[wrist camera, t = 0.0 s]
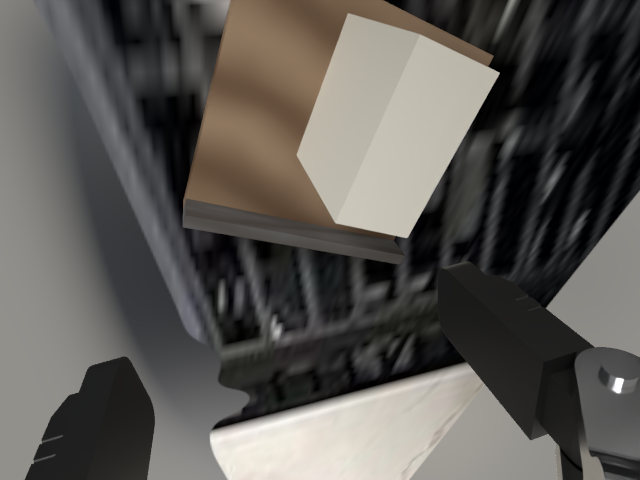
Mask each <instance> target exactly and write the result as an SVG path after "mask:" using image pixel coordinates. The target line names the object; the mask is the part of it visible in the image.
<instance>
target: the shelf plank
mask: <svg viewBox="0 0 640 480" xmlns="http://www.w3.org/2000/svg"><path fill="white" fill-rule="evenodd" d="M348 13H349V14H353V15H356V16H360V17H363V18H366V19H370V20H373V21H377V22H380V23H383V24H387V25H390V26H394V27H397V28H400V29H404V30H407V31H411V32H414V33H417V34H421V35H423V36H425V37H427V38H429V39H431V40H433V41H435V42H437V43H439V44H441V45H443V46H445V47H447V48H450V49H452V50H454V51H456V52H458V53H460V54H462V55H464V56H466V57H468V58H470V59H472V60H474V61H476V62H478V63H481V64H483V65H485V66H487V67H488V65H489V64H490V62H491V60H492V58H493V55H491V54H489V53H487V52H485V51H483V50H481V49H479V48H477V47H475V46H473V45H471V44H469V43H467V42H465V41H463V40H461V39H459V38H457V37H455V36H453V35H451V34H449V33H447V32H445V31H443V30H441V29H439V28H437V27H435V26H433V25H431V24H429V23H427V22H425V21H423V20H421V19H419V18H417V17H415V16H413V15H411V14H409V13H407V12H405V11H403V10H401V9H399V8H397V7H395V6H393V5H391V4H389V3H387V2H386V1H384V0H230V5H229V9H228V13H227V17H226V22H225V26H224V30H223V34H222V39H221V43H220V47H219V51H218V56H217V60H216V64H215V69H214V73H213V77H212V81H211V86H210V90H209V94H208V98H207V103H206V107H205V111H204V115H203V120H202V124H201V128H200V132H199V137H198V141H197V145H196V149H195V154H194V158H193V162H192V166H191V171H190V175H189V179H188V183H187V188H186V192H185V196H184V200H183V227H185V228H191V229H197V230H203V231H208V232H214V233H220V234H226V235H232V236H237V237H243V238H249V239H255V240H261V241H266V242H272V243H278V244H284V245H290V246H295V247H301V248H307V249H313V250H319V251H324V252H330V253H336V254H342V255H348V256H353V257H359V258H365V259H371V260H377V261H382V262H388V263H394V264H401V262H402V260H403V258H404V257H405V255H404V254H403V252H402V251H401V250H400V248H399V247H398V246H397V244H396V243H395V242H394V239H395V237H396V236H394V235H389V234H385V233H380V232H375V231H370V230H365V229H361V228H356V227H351V226H346V225H341V224H337V223H335V222H334V220H333V218H332V217H331V215H330V213H329V211H328V210H327V208H326V206H325V204H324V203H323V201H322V199H321V197H320V196H319V194H318V192H317V190H316V188H315V187H314V185H313V183H312V181H311V180H310V178H309V176H308V174H307V173H306V171H305V169H304V167H303V166H302V164H301V162H300V160H299V159H298V157H297V152H298V149H299V147H300V144H301V141H302V138H303V136H304V133H305V130H306V127H307V125H308V122H309V119H310V116H311V114H312V111H313V108H314V105H315V103H316V100H317V97H318V94H319V92H320V89H321V86H322V83H323V81H324V78H325V75H326V72H327V70H328V67H329V64H330V61H331V59H332V56H333V53H334V50H335V47H336V45H337V42H338V39H339V36H340V34H341V31H342V28H343V25H344V23H345V20H346V17H347V14H348Z"/></svg>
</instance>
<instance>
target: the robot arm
mask: <svg viewBox="0 0 640 480" xmlns="http://www.w3.org/2000/svg"><path fill="white" fill-rule="evenodd" d="M438 317H439V322H440V325H441V328H442V330H443V332H444V334H445V335H446V337H447V338H448V339H449V340H450V342H451V343H452V344H453V345H454V347H455V348H456V349H457V350H458V351H459V353H460V354H461V355H462V356H463V358H464V359H465V360H466V361H467V363H468V364H469V365H470V366H471V368H472V369H473V370H474V371H475V372H476V374H477V375H478V376H479V377H480V379H481V380H482V381H483V382H484V384H485V385H486V386H487V387H488V388H489V390H490V391H491V392H492V393H493V394H494V396H495V397H496V398H497V400H498V401H499V402H500V403H501V404H502V406H503V407H504V408H505V409H506V411H507V412H508V413H509V414H510V416H511V417H512V418H513V419H514V421H515V422H516V423H517V424H518V425H519V427H520V428H521V429H522V430H523V432H524V433H525V434H526V435H527V437H528V438H529V439H530V440H533V439H535V438H538V437H541V436H543V435H546V434H549V435H550V436H551V437H552V438H553V440H554V441H555V442H556V443H557V445H556V452H555V454H556V464H557V476H558V480H640V357H638V356H636V355H633V354H631V353H629V352H626V351H622V350H619V349H614V348H606V347H596V348H595V347H594V346H593V345H591V344H590V343H589V342H587V341H586V340H585V339H583V338H582V337H581V336H580V335H578V334H577V333H576V332H575V331H573V330H572V329H571V328H570V327H568V326H567V325H566V324H564V323H563V322H562V321H561V320H559V319H558V318H557V317H556V316H554V315H553V314H552V313H551V312H549V311H548V310H547V309H546V308H544V307H543V308H542V307H541V305H540V304H539V303H538V302H537V301H535V300H534V299H533V298H532V297H528V294H526V293H525V292H524V291H523V290H521V289H520V288H519V287H518V286H516V285H515V284H514V283H513V282H510V281H508V280H505V279H503V278H501V277H498V276H496V275H493V274H491V275H485V274H484V273H483V272H482V271H481V270H479V269H478V268H477V267H476V266H475V265H473V264H472V263H471V262H468V261H466V262H462V263H459V264H455V265H452V266H448V267H444V268H441V269H440V270H439V272H438ZM154 425H155V416H154V409H153V405H152V402H151V399H150V397H149V395H148V393H147V392H146V389H145V388H144V386H143V384H142V382H141V380H140V378H139V376H138V374H137V372H136V370H135V368H134V367H133V365H132V363H131V362H130V360H129V359H128V358H127V357H121V358H117V359H113V360H110V361H106V362H103V363H99V364H95V365H92V366H90V367H89V368H88V370H87V372H86V375H85V378H84V380H83V383H82V386H81V388H80V391H79V393H75V394H72V395H69V396H68V397H67V398H66V400H65V401H64V402H63V403H62V404H61V406H60V407H59V408H58V410H57V411H56V412H55V413H54V414H53V416H52V417H51V419H50V421H49V423H48V426H47V428H46V431H45V433H44V435H43V438H42V444H40V445H39V447H38V450H37V452H36V455H35V457H34V459H33V460H34V464H31V467H30V468H29V471H28V473H27V476H26V478H25V480H147V475H148V468H149V461H150V455H151V448H152V440H153V434H154Z"/></svg>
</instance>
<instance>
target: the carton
mask: <svg viewBox="0 0 640 480" xmlns="http://www.w3.org/2000/svg"><path fill="white" fill-rule="evenodd" d="M499 74H500V73H499V72H497V71H495V70H493V69H491V68H489V67H487V66H485V65H483V64H481V63H478V62H476V61H474V60H472V59H470V58H468V57H466V56H464V55H462V54H460V53H458V52H456V51H454V50H452V49H450V48H447V47H445V46H443V45H441V44H439V43H437V42H435V41H433V40H431V39H429V38H427V37H425V36H423V35H421V34H417V33H414V32H411V31H407V30H404V29H400V28H397V27H394V26H390V25H387V24H383V23H380V22H377V21H373V20H370V19H366V18H363V17H360V16H356V15H353V14H349V13H348V14H347V17H346V20H345V23H344V25H343V28H342V31H341V34H340V36H339V39H338V42H337V45H336V47H335V50H334V53H333V56H332V59H331V61H330V64H329V67H328V70H327V72H326V75H325V78H324V81H323V83H322V86H321V89H320V92H319V94H318V97H317V100H316V103H315V105H314V108H313V111H312V114H311V116H310V119H309V122H308V125H307V127H306V130H305V133H304V136H303V138H302V141H301V144H300V147H299V149H298V152H297V157H298V159H299V160H300V162H301V164H302V166H303V167H304V169H305V171H306V173H307V174H308V176H309V178H310V180H311V181H312V183H313V185H314V187H315V188H316V190H317V192H318V194H319V196H320V197H321V199H322V201H323V203H324V204H325V206H326V208H327V210H328V211H329V213H330V215H331V217H332V218H333V220H334V222H335V223H337V224H341V225H346V226H351V227H356V228H361V229H365V230H370V231H375V232H380V233H385V234H389V235H394V236H399V237H404V238H408V236H409V234H410V233H411V231H412V229H413V227H414V225H415V224H416V222H417V220H418V218H419V216H420V215H421V213H422V211H423V209H424V208H425V206H426V204H427V202H428V200H429V199H430V197H431V195H432V193H433V191H434V190H435V188H436V186H437V184H438V183H439V181H440V179H441V177H442V175H443V174H444V172H445V170H446V168H447V166H448V165H449V163H450V161H451V159H452V158H453V156H454V154H455V152H456V150H457V149H458V147H459V145H460V143H461V141H462V140H463V138H464V136H465V134H466V133H467V131H468V129H469V127H470V125H471V124H472V122H473V120H474V118H475V116H476V115H477V113H478V111H479V109H480V108H481V106H482V104H483V102H484V100H485V99H486V97H487V95H488V93H489V91H490V90H491V88H492V86H493V84H494V83H495V81H496V79H497V77H498V75H499Z"/></svg>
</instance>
